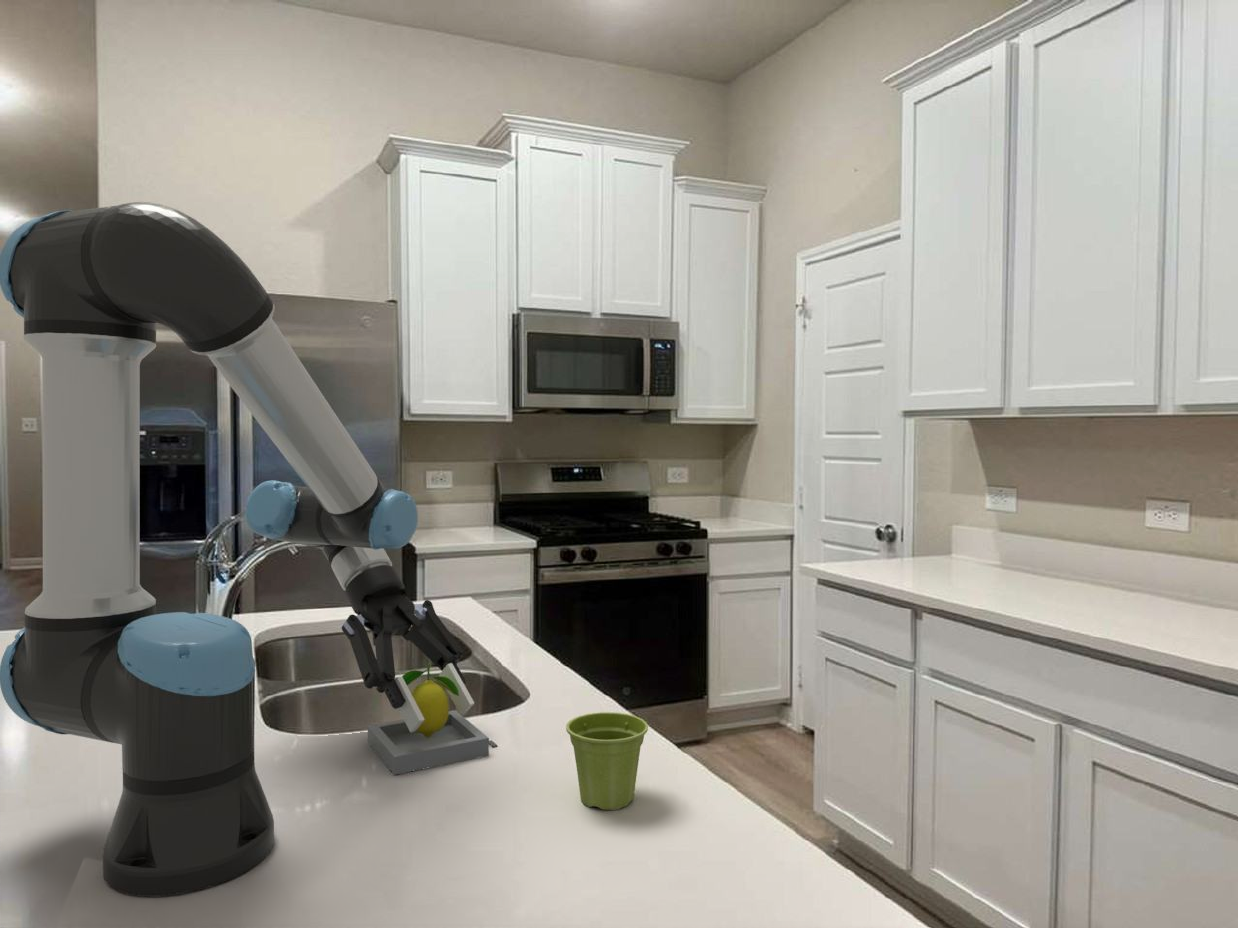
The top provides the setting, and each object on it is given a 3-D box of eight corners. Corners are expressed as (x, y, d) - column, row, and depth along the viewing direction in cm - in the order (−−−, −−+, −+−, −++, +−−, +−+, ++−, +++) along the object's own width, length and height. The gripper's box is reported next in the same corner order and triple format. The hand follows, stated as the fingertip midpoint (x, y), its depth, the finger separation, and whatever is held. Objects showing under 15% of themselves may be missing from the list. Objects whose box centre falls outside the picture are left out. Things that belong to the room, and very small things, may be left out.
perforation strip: (497, 746, 112) (497, 744, 112) (492, 747, 112) (492, 745, 112) (472, 725, 120) (472, 724, 120) (468, 726, 119) (468, 725, 119)
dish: (488, 755, 109) (488, 737, 109) (394, 775, 102) (394, 756, 102) (455, 725, 120) (455, 710, 119) (367, 742, 113) (367, 725, 113)
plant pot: (554, 789, 99) (555, 717, 98) (627, 776, 103) (628, 707, 102) (583, 824, 90) (583, 745, 90) (661, 808, 94) (662, 733, 94)
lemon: (392, 742, 109) (393, 666, 109) (415, 727, 115) (416, 655, 114) (438, 748, 107) (439, 671, 107) (459, 733, 113) (460, 660, 113)
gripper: (416, 585, 128) (488, 712, 118) (291, 606, 112) (363, 756, 102) (438, 554, 124) (514, 683, 115) (313, 572, 108) (389, 723, 99)
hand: (443, 717), depth 109 cm, fingers closed on lemon, 7 cm apart
